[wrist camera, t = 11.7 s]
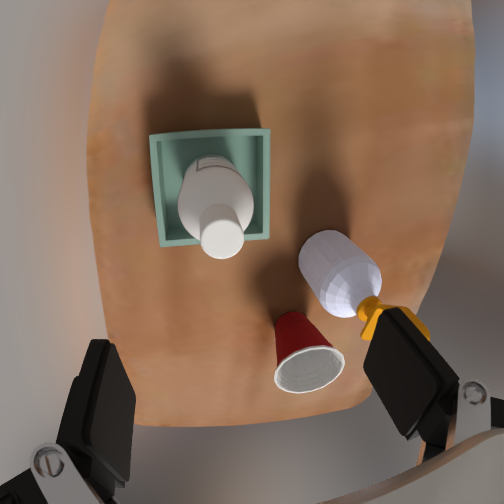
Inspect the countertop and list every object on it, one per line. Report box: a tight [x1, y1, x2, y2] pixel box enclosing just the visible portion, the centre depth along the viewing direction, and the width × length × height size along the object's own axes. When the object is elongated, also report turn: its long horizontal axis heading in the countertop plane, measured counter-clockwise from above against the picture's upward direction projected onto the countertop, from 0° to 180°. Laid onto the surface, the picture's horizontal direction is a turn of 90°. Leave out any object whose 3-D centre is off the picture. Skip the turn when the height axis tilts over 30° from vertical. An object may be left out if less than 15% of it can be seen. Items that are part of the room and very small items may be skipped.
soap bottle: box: [299, 230, 430, 342], centre depth 35 cm, size 9×9×25 cm
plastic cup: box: [274, 312, 345, 393], centre depth 45 cm, size 11×11×12 cm
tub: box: [149, 128, 270, 247], centre depth 35 cm, size 14×14×5 cm
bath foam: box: [177, 154, 254, 259], centre depth 28 cm, size 7×7×20 cm
